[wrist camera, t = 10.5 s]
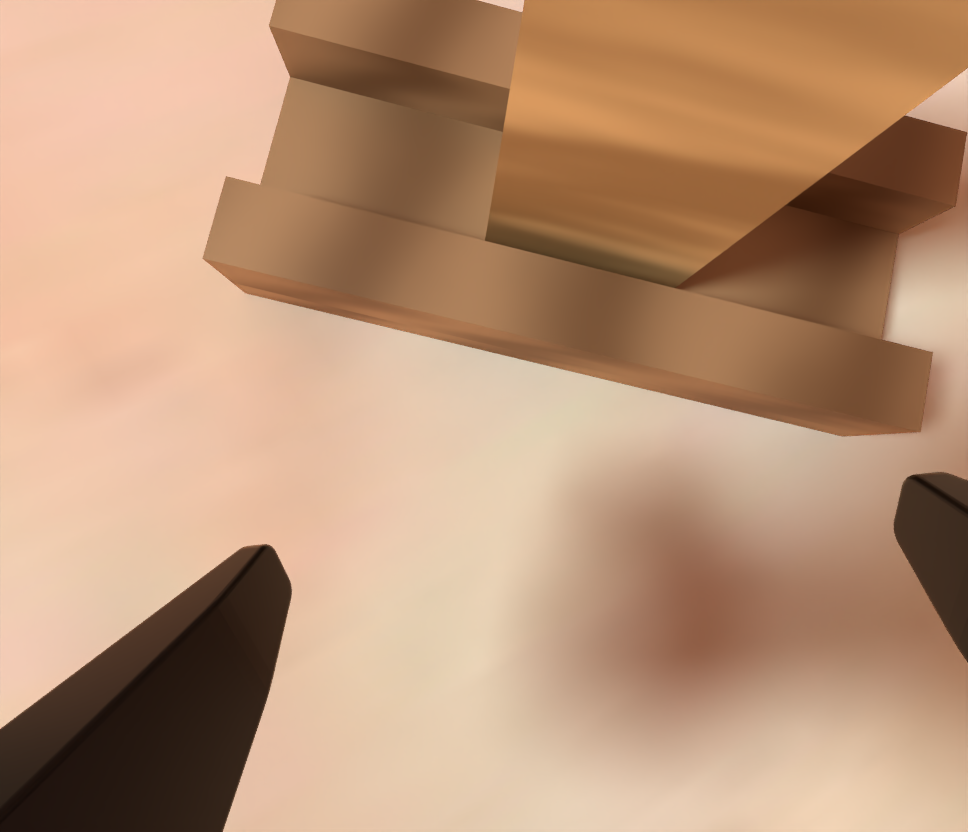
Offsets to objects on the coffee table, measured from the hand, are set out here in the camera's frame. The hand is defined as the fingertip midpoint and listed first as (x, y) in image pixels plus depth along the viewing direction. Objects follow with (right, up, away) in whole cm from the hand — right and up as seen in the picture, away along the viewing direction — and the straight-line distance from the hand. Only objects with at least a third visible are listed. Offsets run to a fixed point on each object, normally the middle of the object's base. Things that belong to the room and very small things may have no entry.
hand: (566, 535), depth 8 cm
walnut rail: (+2, +8, +10) cm, 13 cm away
